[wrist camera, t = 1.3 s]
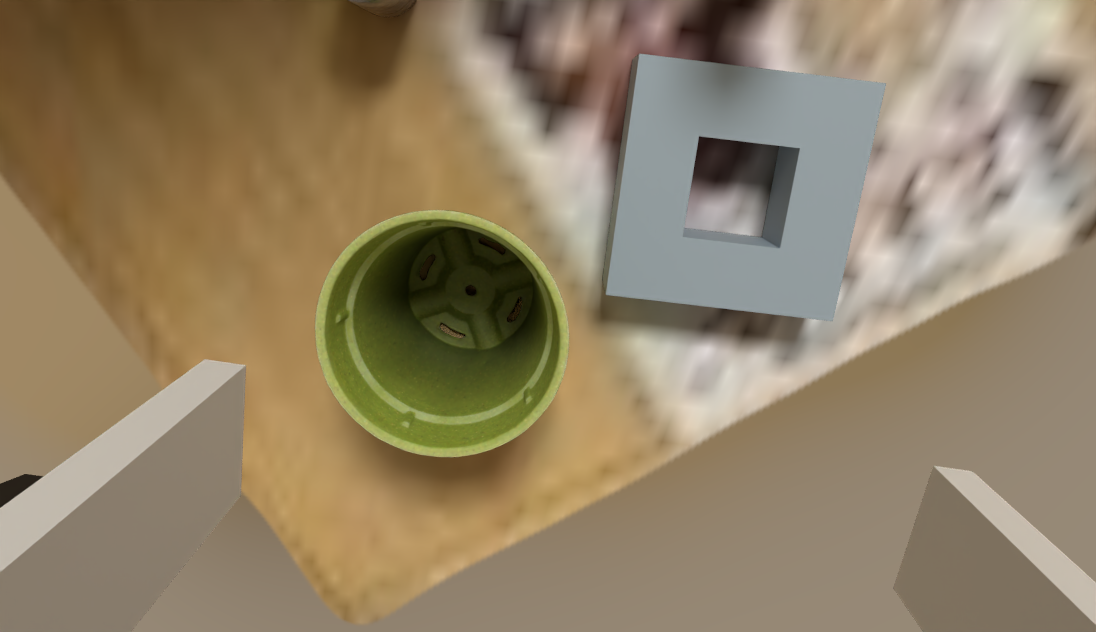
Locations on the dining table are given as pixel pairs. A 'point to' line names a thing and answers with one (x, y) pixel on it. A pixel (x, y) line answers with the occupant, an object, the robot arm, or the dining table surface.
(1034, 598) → the robot arm
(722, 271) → the square grey frame
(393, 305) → the plant pot
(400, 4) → the short pin
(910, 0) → the dining table surface
